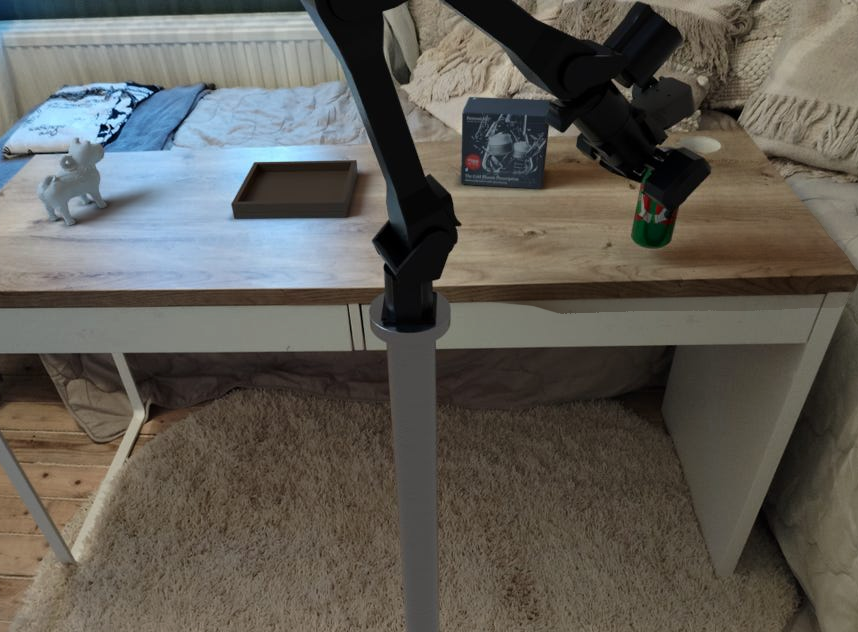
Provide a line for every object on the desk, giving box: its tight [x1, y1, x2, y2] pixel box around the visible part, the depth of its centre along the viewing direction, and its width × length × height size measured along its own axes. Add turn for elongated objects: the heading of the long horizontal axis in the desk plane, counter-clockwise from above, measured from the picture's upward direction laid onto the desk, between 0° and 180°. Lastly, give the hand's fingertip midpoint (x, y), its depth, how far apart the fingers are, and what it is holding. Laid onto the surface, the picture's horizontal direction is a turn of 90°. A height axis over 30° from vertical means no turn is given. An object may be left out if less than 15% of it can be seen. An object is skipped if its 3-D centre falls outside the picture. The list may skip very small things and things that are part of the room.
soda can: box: [630, 145, 680, 250], centre depth 89 cm, size 5×5×12 cm
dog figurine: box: [36, 137, 108, 226], centre depth 112 cm, size 5×13×11 cm, turn 152°
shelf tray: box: [230, 159, 359, 220], centre depth 114 cm, size 16×18×2 cm
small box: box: [460, 96, 552, 190], centre depth 111 cm, size 13×7×12 cm, turn 76°
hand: (669, 192), depth 89 cm, fingers closed on soda can, 5 cm apart
